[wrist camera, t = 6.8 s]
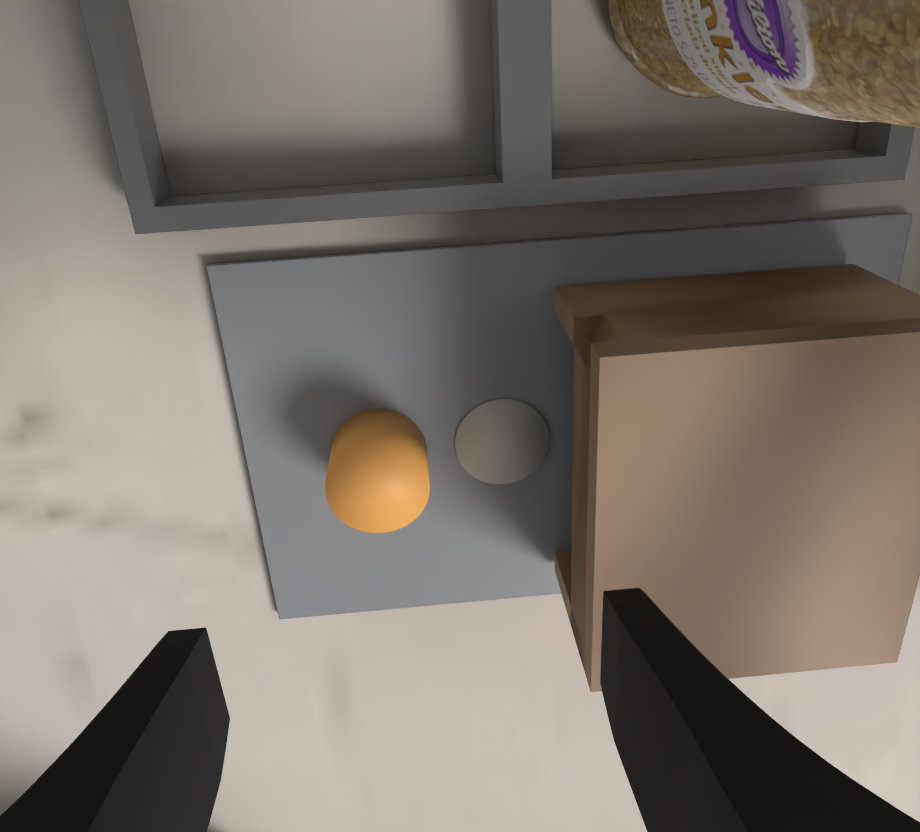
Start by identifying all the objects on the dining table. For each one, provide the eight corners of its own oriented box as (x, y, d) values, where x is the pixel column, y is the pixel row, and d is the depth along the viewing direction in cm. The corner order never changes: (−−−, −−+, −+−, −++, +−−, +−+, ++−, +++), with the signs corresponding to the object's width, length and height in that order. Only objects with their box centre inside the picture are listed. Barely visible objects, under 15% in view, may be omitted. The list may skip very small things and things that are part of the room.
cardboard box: (853, 264, 18) (984, 327, 14) (803, 546, 21) (897, 662, 17) (554, 286, 17) (599, 357, 13) (554, 569, 21) (590, 692, 17)
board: (906, 212, 18) (964, 231, 16) (836, 563, 22) (875, 609, 20) (208, 263, 17) (185, 289, 15) (280, 614, 21) (269, 666, 20)
